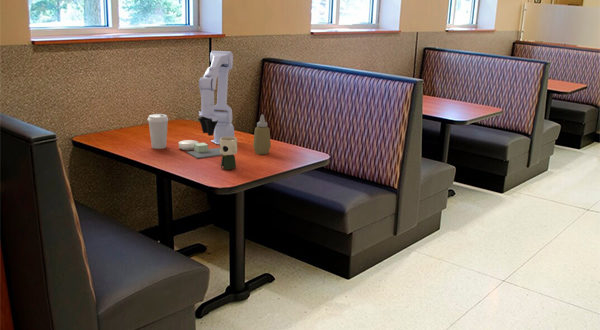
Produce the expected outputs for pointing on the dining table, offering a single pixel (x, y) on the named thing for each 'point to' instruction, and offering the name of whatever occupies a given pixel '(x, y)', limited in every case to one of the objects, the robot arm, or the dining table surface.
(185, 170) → the dining table surface
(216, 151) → the mat
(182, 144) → the white shallow dome
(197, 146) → the pale green square block
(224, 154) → the character mug
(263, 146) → the squeeze bottle
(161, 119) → the coffee cup
